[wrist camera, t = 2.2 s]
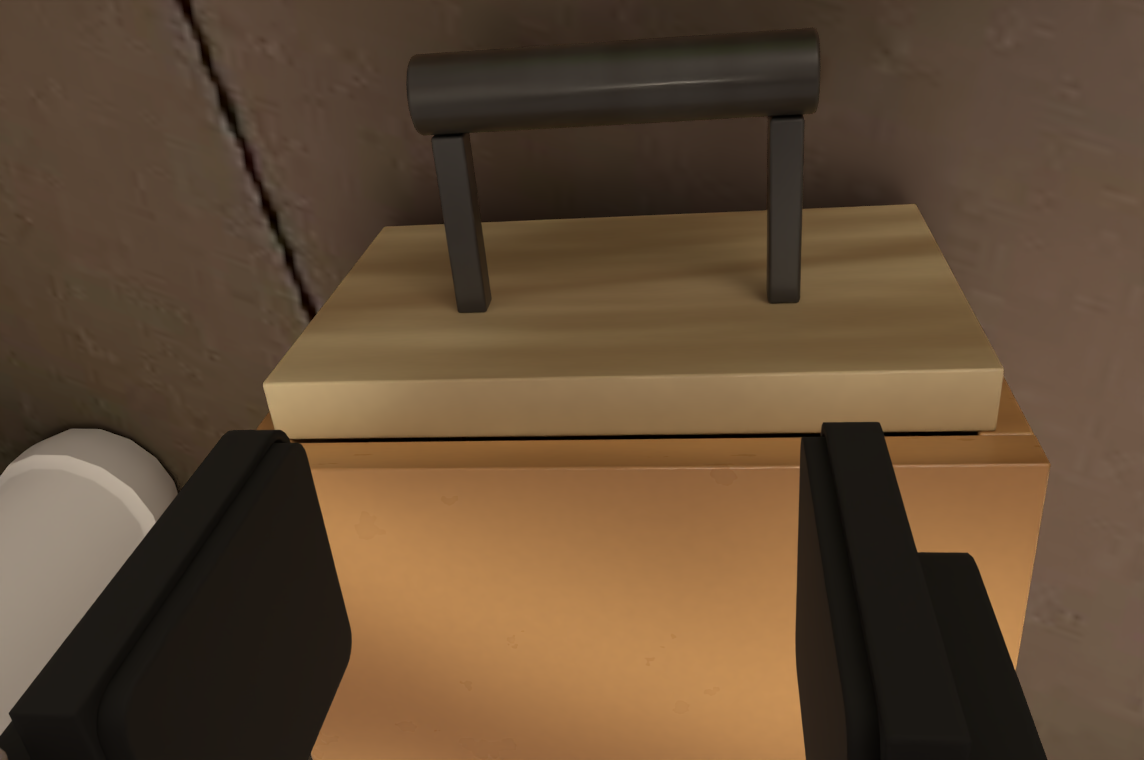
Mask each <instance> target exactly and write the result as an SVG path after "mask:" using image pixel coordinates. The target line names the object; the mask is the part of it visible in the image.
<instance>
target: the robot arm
mask: <svg viewBox="0 0 1144 760" xmlns="http://www.w3.org/2000/svg"><path fill="white" fill-rule="evenodd" d="M351 648H352V633H351V627H350V623H349V619H348V615H347V611H346V607H345V603H344V599H343V595H342V591H341V587H340V583H339V579H338V576H337V572H336V568H335V564H334V560H333V556H332V552H331V548H330V544H329V540H328V536H327V532H326V528H325V524H324V520H323V516H322V512H321V508H320V504H319V500H318V496H317V492H316V489H315V485H314V481H313V477H312V473H311V469H310V465H309V461H308V457H307V454H306V451H305V449H304V447H303V446H302V444H300V443H291V442H290V439H289V437H288V436H287V434H286V433H285V432H283V431H282V430H233V431H228V432H227V433H226V434H224V435H223V436H222V438H221V439H220V440H219V441H218V443H217V444H216V445H215V447H214V448H213V449H212V450H211V452H210V453H209V454H208V456H207V457H206V458H205V460H204V461H203V462H202V463H201V465H200V466H199V467H198V469H197V470H196V471H195V472H194V474H193V475H192V476H191V478H190V479H189V480H188V482H187V483H186V484H185V485H184V487H183V488H182V489H181V491H180V492H179V493H178V494H177V496H176V497H175V498H174V500H173V501H172V502H171V504H170V505H169V506H168V507H167V509H166V510H165V511H164V513H163V514H162V515H161V516H160V518H159V519H158V520H157V522H156V523H155V524H154V525H153V527H152V528H151V529H150V531H149V532H148V533H147V535H146V536H145V537H144V538H143V540H142V541H141V542H140V544H139V545H138V546H137V547H136V549H135V550H134V551H133V553H132V554H131V555H130V557H129V558H128V559H127V560H126V562H125V563H124V564H123V566H122V567H121V568H120V569H119V571H118V572H117V573H116V575H115V576H114V577H113V579H112V580H111V581H110V582H109V584H108V585H107V586H106V588H105V589H104V590H103V591H102V593H101V594H100V595H99V597H98V598H97V599H96V601H95V602H94V603H93V604H92V606H91V607H90V608H89V610H88V611H87V612H86V613H85V615H84V616H83V617H82V619H81V620H80V621H79V622H78V624H77V625H76V626H75V628H74V629H73V630H72V632H71V633H70V634H69V635H68V637H67V638H66V639H65V641H64V642H63V643H62V644H61V646H60V647H59V648H58V650H57V651H56V652H55V654H54V655H53V656H52V657H51V659H50V660H49V661H48V663H47V664H46V665H45V666H44V668H43V669H42V670H41V672H40V673H39V674H38V676H37V677H36V678H35V679H34V681H33V682H32V683H31V685H30V686H29V687H28V688H27V690H26V691H25V692H24V694H23V695H22V696H21V697H20V699H19V700H18V701H17V703H16V704H15V705H14V707H13V708H12V709H11V710H10V712H9V713H8V714H9V716H10V718H11V720H12V721H11V722H10V724H9V725H8V726H7V728H6V729H5V730H4V731H3V733H2V734H1V735H0V760H308V759H309V756H310V754H311V751H312V749H313V747H314V744H315V742H316V740H317V737H318V735H319V732H320V730H321V728H322V725H323V723H324V720H325V718H326V716H327V713H328V711H329V709H330V706H331V704H332V701H333V699H334V697H335V694H336V692H337V689H338V687H339V685H340V682H341V680H342V678H343V675H344V673H345V670H346V668H347V666H348V663H349V660H350V655H351ZM795 651H796V670H797V680H798V689H799V699H800V708H801V718H802V727H803V737H804V746H805V756H806V760H1047V757H1046V755H1045V752H1044V749H1043V746H1042V743H1041V741H1040V738H1039V735H1038V732H1037V730H1036V727H1035V724H1034V721H1033V719H1032V716H1031V713H1030V710H1029V707H1028V705H1027V702H1026V699H1025V696H1024V694H1023V691H1022V688H1021V685H1020V682H1019V680H1018V677H1017V674H1016V671H1015V669H1014V666H1013V663H1012V660H1011V657H1010V655H1009V652H1008V649H1007V646H1006V644H1005V641H1004V638H1003V635H1002V632H1001V630H1000V627H999V624H998V621H997V619H996V616H995V613H994V610H993V607H992V605H991V602H990V599H989V596H988V594H987V591H986V588H985V585H984V582H983V580H982V577H981V574H980V571H979V569H978V566H977V564H976V562H975V560H974V558H973V557H972V556H971V555H970V554H969V553H961V552H917V549H916V545H915V542H914V538H913V535H912V531H911V528H910V524H909V521H908V517H907V514H906V510H905V507H904V503H903V500H902V496H901V493H900V489H899V486H898V482H897V479H896V475H895V472H894V468H893V465H892V461H891V458H890V454H889V451H888V447H887V444H886V440H885V437H884V433H883V430H882V427H881V425H880V423H879V422H823V424H822V427H821V437H802V438H801V445H800V478H799V516H798V554H797V592H796V629H795Z"/></svg>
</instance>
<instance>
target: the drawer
mask: <svg viewBox="0 0 1144 760" xmlns="http://www.w3.org/2000/svg"><path fill="white" fill-rule="evenodd" d="M406 86H407V99H408V106H409V111H410V115H411V118H412V121H413V124H414V126H415V128H416V130H417V132H418V133H419V134H421V135H434V136H433V137H432V139H431V142H432V149H433V155H434V162H435V168H436V175H437V181H438V188H439V194H440V201H441V207H442V213H443V220H444V224H435V225H412V226H388V227H384V228H383V229H382V230H381V232H380V233H379V234H378V235H377V237H376V238H375V239H374V241H373V242H372V243H371V244H370V246H369V247H368V248H367V250H366V251H365V252H364V253H363V255H362V256H361V257H360V259H359V260H358V261H357V263H356V264H355V265H354V266H353V268H352V269H351V270H350V272H349V273H348V274H347V275H346V277H345V278H344V279H343V281H342V282H341V283H340V284H339V286H338V287H337V288H336V290H335V291H334V292H333V294H332V295H331V296H330V297H329V299H328V300H327V301H326V303H325V304H324V305H323V306H322V308H321V309H320V310H319V312H318V313H317V314H316V315H315V317H314V318H313V319H312V321H311V322H310V323H309V325H308V326H307V327H306V328H305V330H304V331H303V332H302V334H301V335H300V336H299V337H298V339H297V340H296V341H295V343H294V344H293V345H292V346H291V348H290V349H289V350H288V352H287V353H286V354H285V356H284V357H283V358H282V359H281V361H280V362H279V363H278V365H277V366H276V367H275V368H274V370H273V371H272V372H271V374H270V375H269V376H268V377H267V379H266V380H265V381H264V383H263V388H264V392H265V395H266V399H267V403H268V407H269V410H270V414H271V418H272V422H273V425H274V429H275V430H282V431H283V432H285V433H286V434H287V436H288V437H289V439H356V438H370V439H369V441H368V442H433V441H522V440H612V439H701V438H790V437H821V427H822V424H823V422H879V423H880V425H881V427H882V430H883V433H884V436H915V434H914V432H952V431H995V430H996V426H997V419H998V411H999V404H1000V397H1001V389H1002V382H1003V375H1004V369H1003V366H1002V365H1001V363H1000V361H999V359H998V357H997V355H996V353H995V352H994V350H993V348H992V346H991V344H990V342H989V340H988V338H987V337H986V335H985V333H984V331H983V329H982V327H981V325H980V323H979V322H978V320H977V318H976V316H975V314H974V312H973V310H972V308H971V307H970V305H969V303H968V301H967V299H966V297H965V295H964V293H963V292H962V290H961V288H960V286H959V284H958V282H957V280H956V279H955V277H954V275H953V273H952V271H951V269H950V267H949V265H948V264H947V262H946V260H945V258H944V256H943V254H942V252H941V250H940V249H939V247H938V245H937V243H936V241H935V239H934V237H933V235H932V234H931V232H930V230H929V228H928V226H927V224H926V222H925V220H924V219H923V217H922V215H921V213H920V211H919V209H918V207H917V206H916V205H915V204H905V205H881V206H858V207H834V208H811V209H802V206H803V165H804V124H805V120H804V117H803V114H813V113H815V112H816V110H817V107H818V102H819V93H820V43H819V35H818V32H817V30H816V29H815V28H802V29H787V30H772V31H757V32H742V33H727V34H713V35H698V36H683V37H668V38H653V39H638V40H623V41H609V42H594V43H579V44H564V45H549V46H534V47H520V48H505V49H490V50H475V51H460V52H445V53H431V54H416V55H414V56H413V57H411V59H410V61H409V64H408V70H407V80H406ZM765 116H768V134H767V210H764V211H741V212H717V213H694V214H670V215H647V216H623V217H600V218H576V219H553V220H529V221H506V222H482V223H481V216H480V209H479V202H478V194H477V187H476V179H475V172H474V165H473V157H472V150H471V143H470V135H469V133H477V132H495V131H513V130H531V129H549V128H567V127H585V126H603V125H621V124H639V123H657V122H675V121H693V120H711V119H729V118H747V117H765Z"/></svg>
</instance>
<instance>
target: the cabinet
mask: <svg viewBox="0 0 1144 760" xmlns="http://www.w3.org/2000/svg"><path fill="white" fill-rule="evenodd" d="M256 430H275V429H274V425H273V422H272V418H271V414H270V411H269V412H268V414H267V415H266V417H265V418H264V419H263V421H262V422H261V423H260V425H259V426H258V428H257V429H256ZM914 434H915V436H884V437H885V440H886V444H887V447H888V451H889V454H890V458H891V461H892V465H893V468H894V472H895V475H896V479H897V482H898V486H899V489H900V493H901V496H902V500H903V503H904V507H905V510H906V514H907V517H908V521H909V524H910V528H911V531H912V535H913V538H914V542H915V545H916V549H917V552H961V553H969V554H970V555H971V556H972V557H973V558H974V560H975V562H976V564H977V566H978V569H979V571H980V574H981V577H982V580H983V582H984V585H985V588H986V591H987V594H988V596H989V599H990V602H991V605H992V607H993V610H994V613H995V616H996V619H997V621H998V624H999V627H1000V630H1001V632H1002V635H1003V638H1004V641H1005V644H1006V646H1007V649H1008V652H1009V655H1010V657H1011V660H1012V663H1013V666H1014V669H1015V671H1016V666H1017V660H1018V654H1019V648H1020V642H1021V636H1022V631H1023V625H1024V619H1025V613H1026V607H1027V601H1028V595H1029V589H1030V583H1031V577H1032V571H1033V566H1034V560H1035V554H1036V548H1037V542H1038V536H1039V530H1040V524H1041V518H1042V512H1043V507H1044V501H1045V495H1046V489H1047V483H1048V477H1049V471H1050V462H1049V460H1048V459H1047V457H1046V455H1045V453H1044V451H1043V449H1042V447H1041V445H1040V443H1039V442H1038V440H1037V438H1036V436H1035V435H1034V434H1033V431H1032V430H1031V428H1030V426H1029V424H1028V422H1027V420H1026V418H1025V416H1024V414H1023V412H1022V411H1021V409H1020V407H1019V405H1018V403H1017V401H1016V399H1015V397H1014V395H1013V393H1012V392H1011V390H1010V388H1009V386H1008V384H1007V382H1006V380H1005V378H1004V376H1003V382H1002V389H1001V397H1000V404H999V411H998V419H997V426H996V430H995V431H952V432H914ZM801 438H802V437H790V438H701V439H612V440H522V441H433V442H368V441H369V439H370V438H356V439H290V442H291V443H300V444H302V446H303V447H304V449H305V451H306V454H307V457H308V461H309V465H310V469H311V473H312V477H313V481H314V485H315V489H316V492H317V496H318V500H319V504H320V508H321V512H322V516H323V520H324V524H325V528H326V532H327V536H328V540H329V544H330V548H331V552H332V556H333V560H334V564H335V568H336V572H337V576H338V579H339V583H340V587H341V591H342V595H343V599H344V603H345V607H346V611H347V615H348V619H349V623H350V627H351V633H352V648H351V655H350V660H349V663H348V666H347V668H346V670H345V673H344V675H343V678H342V680H341V682H340V685H339V687H338V689H337V692H336V694H335V697H334V699H333V701H332V704H331V706H330V709H329V711H328V713H327V716H326V718H325V720H324V723H323V725H322V728H321V730H320V732H319V735H318V737H317V740H316V742H315V744H314V747H313V749H312V751H311V755H312V759H313V760H806V756H805V746H804V737H803V727H802V718H801V708H800V699H799V689H798V680H797V670H796V651H795V629H796V592H797V554H798V516H799V478H800V445H801Z"/></svg>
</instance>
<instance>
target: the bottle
mask: <svg viewBox="0 0 1144 760" xmlns="http://www.w3.org/2000/svg"><path fill="white" fill-rule="evenodd" d="M177 494H178V492H177V489H176V486H175V482H174V481H173V479H172V478H171V477H170V475H169V474H168V473H167V471H166V470H165V469H164V468H163V466H162V465H161V464H160V462H159V461H158V460H157V458H155V457H154V456H153V455H151V454H150V453H148V452H147V451H146V450H144V449H143V448H141V447H140V446H139V445H137V444H136V443H135V442H133V441H132V440H130V439H127V438H125V437H122V436H119V435H116V434H113V433H110V432H107V431H105V430H102V429H69V430H67V431H64V432H62V433H59V434H57V435H55V436H52V437H50V438H47V439H45V440H43V441H41V442H39V443H37V444H35V445H33V446H32V447H30V448H29V449H27V450H26V451H24V452H23V453H22V454H21V455H20V456H18V457H17V458H16V459H15V460H14V461H13V462H12V463H11V464H9V465H8V467H7V468H6V469H5V471H4V472H3V474H2V475H1V476H0V735H1V734H2V733H3V731H4V730H5V729H6V728H7V726H8V725H9V724H10V722H11V721H12V720H11V718H10V716H9V714H8V713H9V712H10V710H11V709H12V708H13V707H14V705H15V704H16V703H17V701H18V700H19V699H20V697H21V696H22V695H23V694H24V692H25V691H26V690H27V688H28V687H29V686H30V685H31V683H32V682H33V681H34V679H35V678H36V677H37V676H38V674H39V673H40V672H41V670H42V669H43V668H44V666H45V665H46V664H47V663H48V661H49V660H50V659H51V657H52V656H53V655H54V654H55V652H56V651H57V650H58V648H59V647H60V646H61V644H62V643H63V642H64V641H65V639H66V638H67V637H68V635H69V634H70V633H71V632H72V630H73V629H74V628H75V626H76V625H77V624H78V622H79V621H80V620H81V619H82V617H83V616H84V615H85V613H86V612H87V611H88V610H89V608H90V607H91V606H92V604H93V603H94V602H95V601H96V599H97V598H98V597H99V595H100V594H101V593H102V591H103V590H104V589H105V588H106V586H107V585H108V584H109V582H110V581H111V580H112V579H113V577H114V576H115V575H116V573H117V572H118V571H119V569H120V568H121V567H122V566H123V564H124V563H125V562H126V560H127V559H128V558H129V557H130V555H131V554H132V553H133V551H134V550H135V549H136V547H137V546H138V545H139V544H140V542H141V541H142V540H143V538H144V537H145V536H146V535H147V533H148V532H149V531H150V529H151V528H152V527H153V525H154V524H155V523H156V522H157V520H158V519H159V518H160V516H161V515H162V514H163V513H164V511H165V510H166V509H167V507H168V506H169V505H170V504H171V502H172V501H173V500H174V498H175V497H176V496H177Z"/></svg>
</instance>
